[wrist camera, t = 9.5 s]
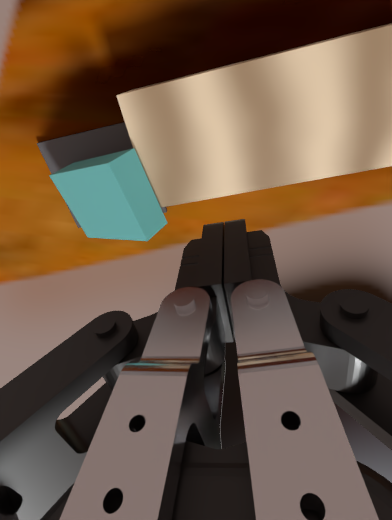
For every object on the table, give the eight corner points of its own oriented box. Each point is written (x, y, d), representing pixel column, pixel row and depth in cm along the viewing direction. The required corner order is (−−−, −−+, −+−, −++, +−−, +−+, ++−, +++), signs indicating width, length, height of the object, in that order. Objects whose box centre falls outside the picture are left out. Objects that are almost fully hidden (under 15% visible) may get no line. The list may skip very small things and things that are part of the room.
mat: (140, 118, 23) (138, 119, 23) (167, 210, 28) (166, 212, 27) (39, 142, 25) (36, 143, 24) (79, 225, 29) (78, 227, 29)
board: (392, 22, 19) (429, 15, 16) (377, 148, 23) (404, 163, 20) (131, 89, 22) (116, 95, 19) (161, 190, 26) (152, 209, 23)
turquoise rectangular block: (134, 148, 20) (108, 163, 19) (167, 223, 23) (147, 241, 22) (73, 162, 25) (49, 175, 24) (107, 222, 28) (87, 237, 27)
